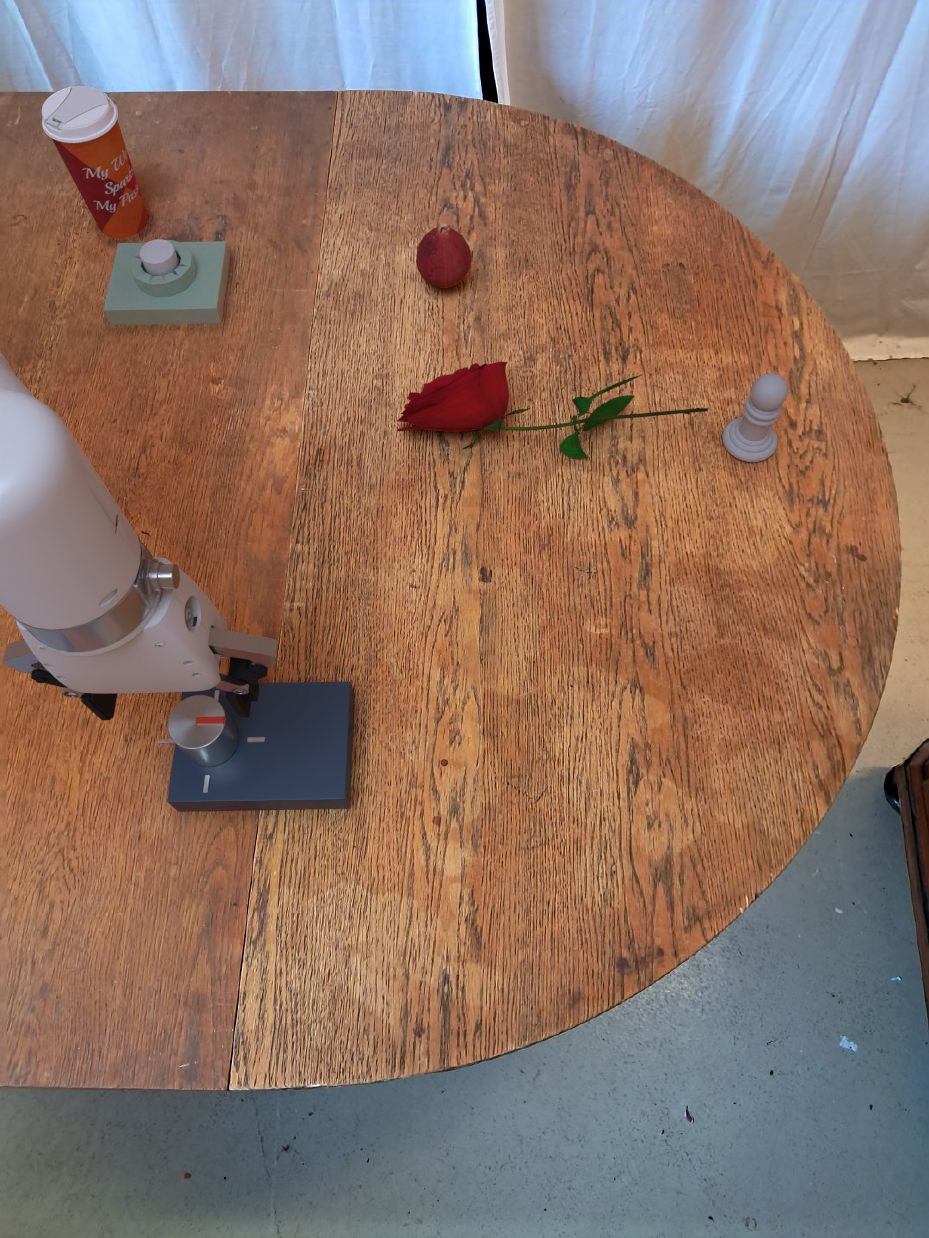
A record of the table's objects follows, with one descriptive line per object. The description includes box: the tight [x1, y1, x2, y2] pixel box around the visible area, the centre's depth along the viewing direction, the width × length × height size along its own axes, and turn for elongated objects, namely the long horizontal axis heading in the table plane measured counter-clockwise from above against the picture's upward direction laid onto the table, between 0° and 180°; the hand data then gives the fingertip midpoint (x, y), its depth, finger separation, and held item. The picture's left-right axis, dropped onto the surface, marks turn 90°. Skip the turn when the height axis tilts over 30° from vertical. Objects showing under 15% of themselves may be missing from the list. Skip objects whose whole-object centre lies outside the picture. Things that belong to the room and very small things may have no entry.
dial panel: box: [157, 680, 356, 813], centre depth 74 cm, size 15×10×3 cm, turn 91°
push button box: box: [102, 239, 232, 326], centre depth 97 cm, size 12×10×4 cm
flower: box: [396, 361, 709, 460], centre depth 86 cm, size 9×10×30 cm
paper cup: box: [41, 85, 148, 239], centre depth 97 cm, size 8×8×14 cm
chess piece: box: [722, 372, 789, 463], centre depth 85 cm, size 5×5×9 cm
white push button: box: [140, 238, 179, 276], centre depth 95 cm, size 4×4×2 cm
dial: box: [167, 695, 239, 767], centre depth 70 cm, size 4×4×5 cm
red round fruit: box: [415, 222, 472, 289], centre depth 95 cm, size 6×6×8 cm
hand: (179, 699), depth 64 cm, fingers open, 9 cm apart
